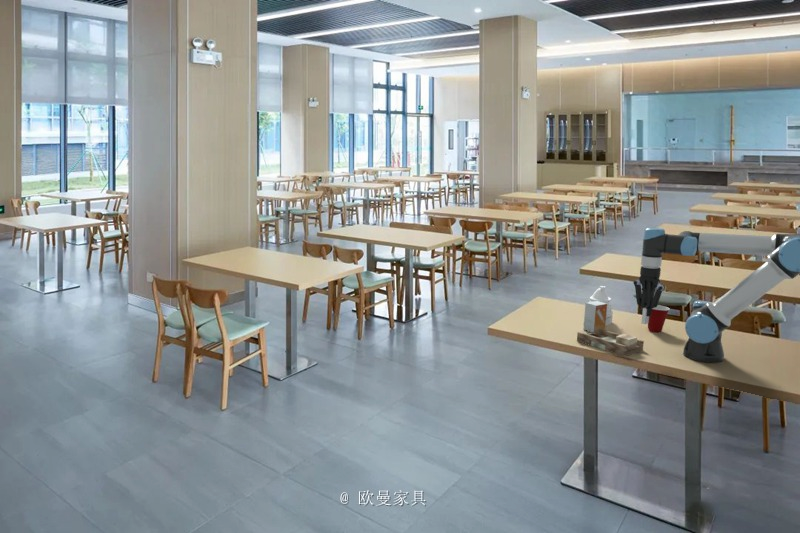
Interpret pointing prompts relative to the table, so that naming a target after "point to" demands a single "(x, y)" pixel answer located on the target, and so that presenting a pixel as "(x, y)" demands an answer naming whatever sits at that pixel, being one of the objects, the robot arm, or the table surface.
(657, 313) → the plastic cup
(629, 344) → the block
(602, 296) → the white piece
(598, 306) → the small box
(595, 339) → the wooden tray
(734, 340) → the table surface
